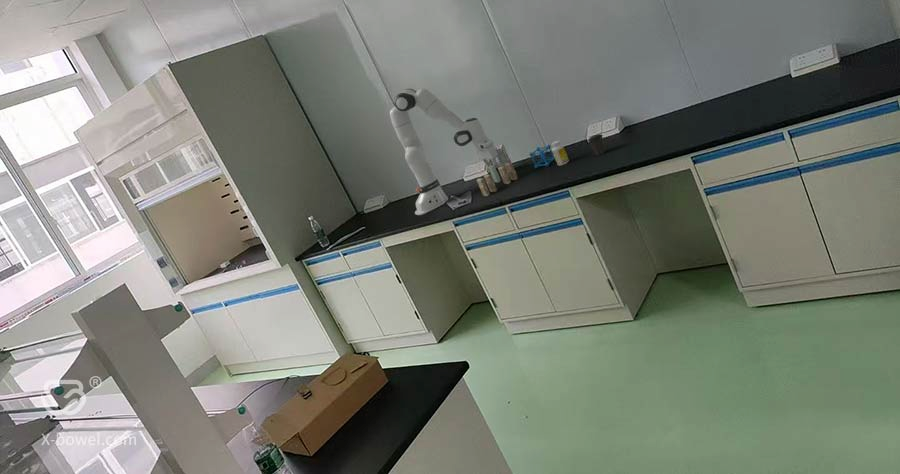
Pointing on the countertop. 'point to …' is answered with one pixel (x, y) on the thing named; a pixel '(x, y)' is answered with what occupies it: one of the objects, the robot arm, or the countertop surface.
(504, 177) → the domino
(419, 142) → the robot arm
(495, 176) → the sage domino
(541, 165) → the molecular structure
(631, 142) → the countertop surface
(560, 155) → the supplement bottle
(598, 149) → the coffee cup
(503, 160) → the candy bar box
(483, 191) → the domino
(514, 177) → the domino
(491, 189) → the domino
